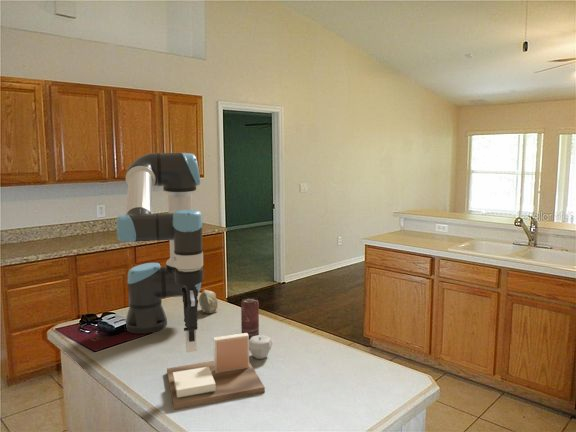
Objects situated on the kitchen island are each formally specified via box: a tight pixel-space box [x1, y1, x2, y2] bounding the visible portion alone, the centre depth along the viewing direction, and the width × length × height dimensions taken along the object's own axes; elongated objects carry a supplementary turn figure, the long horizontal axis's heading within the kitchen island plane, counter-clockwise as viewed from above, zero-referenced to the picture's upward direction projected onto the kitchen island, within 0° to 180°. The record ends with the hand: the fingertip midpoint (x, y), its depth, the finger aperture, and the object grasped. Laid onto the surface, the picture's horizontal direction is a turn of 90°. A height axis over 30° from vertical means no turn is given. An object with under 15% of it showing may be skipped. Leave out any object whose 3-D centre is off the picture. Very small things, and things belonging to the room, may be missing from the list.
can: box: [240, 297, 260, 340], centre depth 154 cm, size 6×6×14 cm
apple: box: [249, 334, 273, 360], centre depth 141 cm, size 8×8×7 cm
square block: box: [173, 367, 216, 398], centre depth 120 cm, size 2×10×10 cm
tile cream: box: [213, 332, 250, 373], centre depth 129 cm, size 2×10×10 cm, turn 110°
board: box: [166, 360, 266, 410], centre depth 125 cm, size 20×24×2 cm
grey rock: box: [198, 289, 218, 314], centre depth 181 cm, size 9×8×10 cm
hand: (191, 350), depth 122 cm, fingers closed
